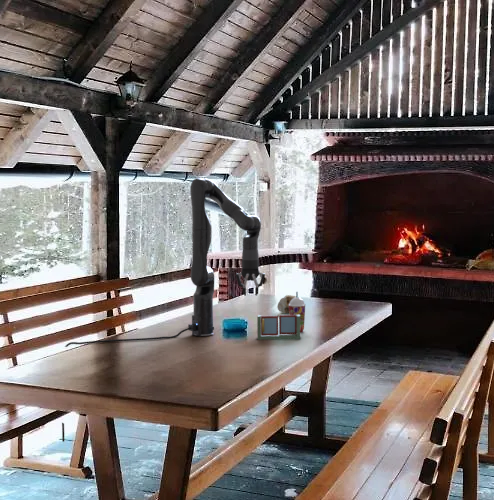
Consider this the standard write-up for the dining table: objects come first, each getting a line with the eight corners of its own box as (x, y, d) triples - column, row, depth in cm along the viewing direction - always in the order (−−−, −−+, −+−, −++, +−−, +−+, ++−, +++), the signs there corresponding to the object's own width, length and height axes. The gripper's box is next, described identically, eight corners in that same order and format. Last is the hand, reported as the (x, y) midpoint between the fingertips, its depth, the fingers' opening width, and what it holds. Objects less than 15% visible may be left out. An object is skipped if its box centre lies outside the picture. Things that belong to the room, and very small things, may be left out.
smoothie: (303, 333, 357) (303, 293, 355) (286, 333, 358) (286, 292, 357) (307, 330, 365) (306, 290, 363) (290, 330, 367) (290, 290, 365)
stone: (276, 309, 430) (276, 292, 429) (296, 309, 431) (296, 292, 430) (277, 314, 413) (277, 296, 412) (298, 314, 414) (298, 296, 413)
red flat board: (278, 336, 340) (278, 317, 340) (261, 337, 340) (260, 317, 339) (278, 335, 344) (278, 315, 344) (261, 335, 344) (261, 315, 343)
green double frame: (300, 339, 344) (300, 316, 343) (257, 339, 343) (257, 316, 342) (299, 337, 348) (299, 314, 347) (257, 337, 347) (257, 314, 346)
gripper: (266, 257, 341) (266, 294, 343) (235, 258, 341) (235, 294, 342) (265, 259, 334) (266, 296, 335) (234, 259, 333) (234, 296, 335)
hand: (250, 295), depth 339 cm, fingers open, 4 cm apart
